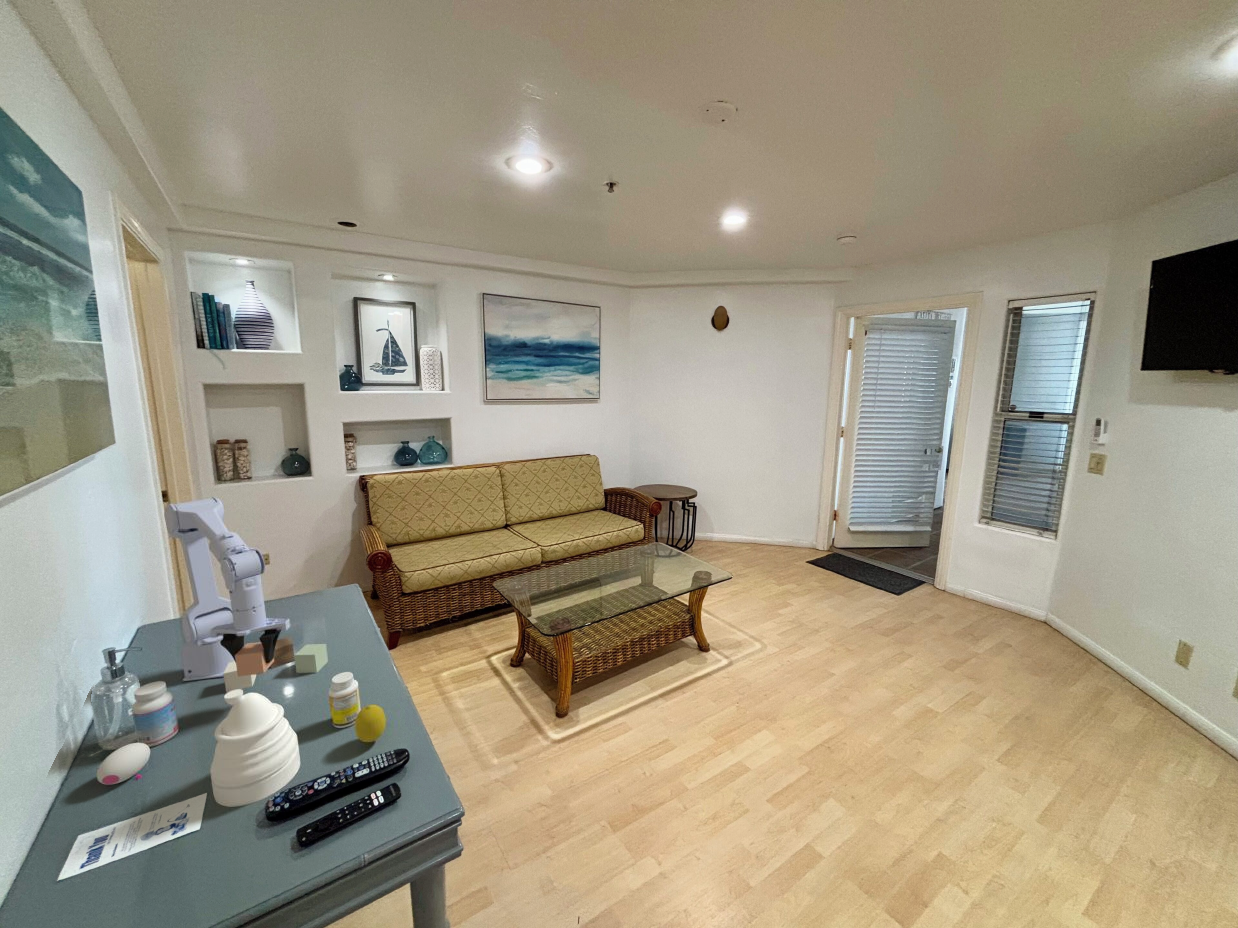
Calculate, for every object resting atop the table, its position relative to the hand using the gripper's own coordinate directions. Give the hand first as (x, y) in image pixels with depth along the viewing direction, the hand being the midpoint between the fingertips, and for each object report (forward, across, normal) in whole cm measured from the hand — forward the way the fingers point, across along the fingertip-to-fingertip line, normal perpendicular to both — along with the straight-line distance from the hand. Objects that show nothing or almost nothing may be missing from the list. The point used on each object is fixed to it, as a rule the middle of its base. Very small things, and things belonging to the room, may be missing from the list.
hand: (255, 662), depth 109 cm
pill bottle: (+10, -15, -8) cm, 20 cm away
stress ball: (+10, -14, -18) cm, 25 cm away
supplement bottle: (+10, +21, -11) cm, 26 cm away
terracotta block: (+2, 0, 0) cm, 2 cm away
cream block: (+10, -8, +9) cm, 16 cm away
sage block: (+10, +6, +13) cm, 17 cm away
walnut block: (+10, -3, +18) cm, 21 cm away
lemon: (+10, +28, -19) cm, 35 cm away
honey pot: (+10, +10, -24) cm, 28 cm away
